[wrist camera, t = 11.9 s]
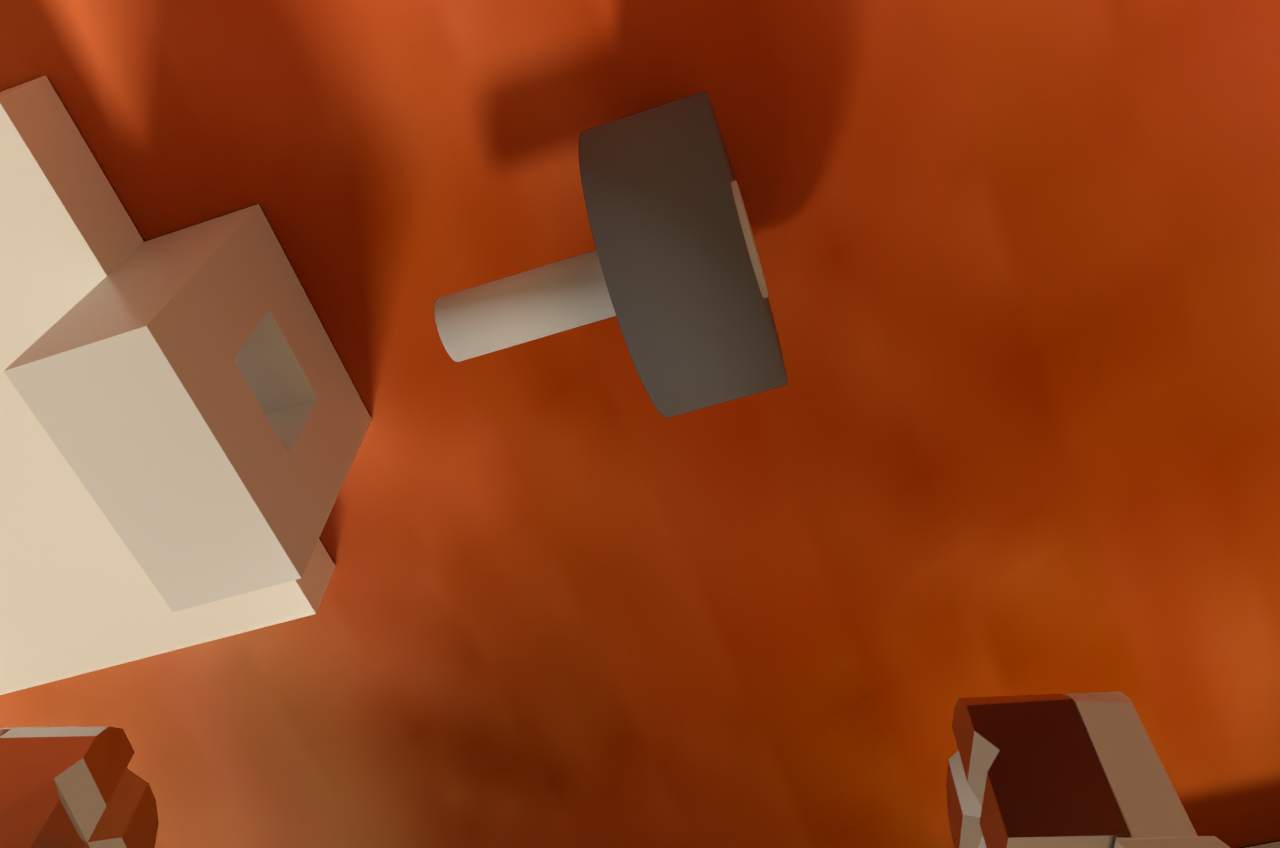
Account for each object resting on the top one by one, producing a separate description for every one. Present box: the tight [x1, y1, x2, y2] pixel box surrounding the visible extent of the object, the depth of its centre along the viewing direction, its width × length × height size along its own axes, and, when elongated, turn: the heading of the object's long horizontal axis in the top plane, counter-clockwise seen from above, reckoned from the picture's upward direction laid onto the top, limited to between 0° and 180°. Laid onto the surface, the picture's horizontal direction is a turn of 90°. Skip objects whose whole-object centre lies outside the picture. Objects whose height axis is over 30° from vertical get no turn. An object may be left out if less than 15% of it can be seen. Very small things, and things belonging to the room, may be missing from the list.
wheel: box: [434, 91, 788, 418], centre depth 23 cm, size 6×7×6 cm
